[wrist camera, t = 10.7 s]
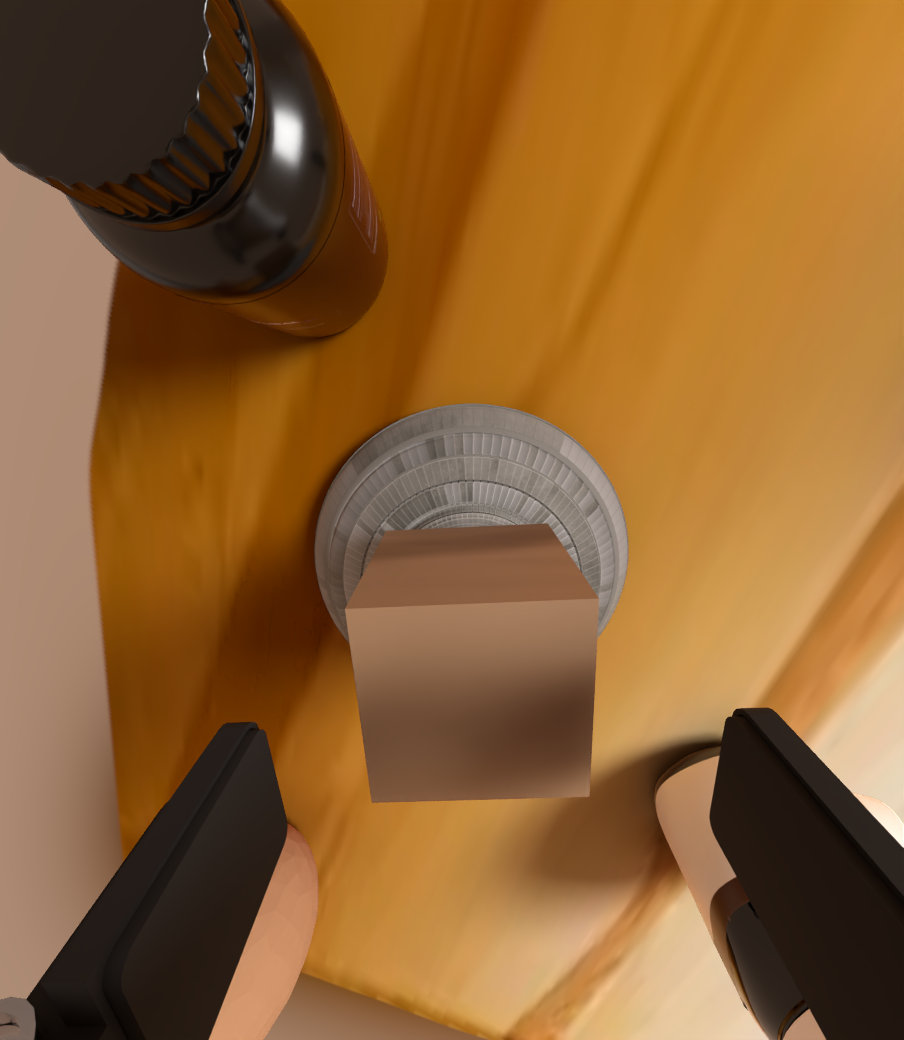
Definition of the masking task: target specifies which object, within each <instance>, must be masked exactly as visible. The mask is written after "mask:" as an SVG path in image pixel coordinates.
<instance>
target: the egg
mask: <svg viewBox="0 0 904 1040" xmlns="http://www.w3.org/2000/svg"><path fill="white" fill-rule="evenodd" d="M287 824H288V823H287ZM317 908H318V875H317V868H316V865H315V861H314V858H313V855H312V851H311V849H310V847H309V845H308V844H307V842H306V840H305V839H304V837H303V836H302V834H301V833H300V832H298V831H297V830H296V829H295V828H294V827H292V826H291V825H290V824H288V830H287V837H286V841H285V844H284V847H283V849H282V852H281V855H280V857H279V860H278V862H277V865H276V868H275V870H274V873H273V875H272V878H271V880H270V883H269V886H268V888H267V891H266V893H265V896H264V899H263V901H262V904H261V906H260V909H259V911H258V914H257V917H256V919H255V922H254V924H253V927H252V930H251V932H250V935H249V937H248V940H247V942H246V945H245V948H244V950H243V953H242V955H241V958H240V961H239V963H238V966H237V968H236V971H235V973H234V976H233V979H232V981H231V984H230V986H229V989H228V992H227V994H226V997H225V999H224V1002H223V1004H222V1007H221V1010H220V1012H219V1015H218V1017H217V1020H216V1023H215V1025H214V1028H213V1030H212V1033H211V1035H210V1038H209V1040H264V1038H265V1037H266V1035H267V1033H268V1032H269V1030H270V1029H271V1027H272V1025H273V1024H274V1022H275V1020H276V1019H277V1017H278V1015H279V1014H280V1012H281V1011H282V1009H283V1008H284V1006H285V1004H286V1003H287V1001H288V999H289V997H290V995H291V993H292V990H293V988H294V986H295V983H296V981H297V979H298V976H299V974H300V971H301V969H302V966H303V964H304V961H305V959H306V955H307V952H308V949H309V946H310V943H311V939H312V935H313V930H314V926H315V922H316V917H317Z"/></svg>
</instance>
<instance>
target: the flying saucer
mask: <svg viewBox="0 0 904 1040" xmlns="http://www.w3.org/2000/svg"><path fill="white" fill-rule="evenodd" d="M544 523H548V524H549V526H550V527H551V529H552V530H553V532H554V533H555V535H556V536H557V537H558V539H559V540H560V542H561V543H562V545H563V546H564V548H565V549H566V551H567V552H568V554H569V555H570V557H571V558H572V559H573V561H574V562H575V564H576V565H577V567H578V568H579V570H580V571H581V573H582V574H583V576H584V577H585V578H586V580H587V581H588V583H589V584H590V586H591V587H592V589H593V590H594V592H595V593H596V595H597V596H598V598H599V612H598V632H597V638H598V637H599V636H600V634H601V633H602V631H603V630H604V628H605V627H606V625H607V623H608V622H609V620H610V618H611V616H612V614H613V612H614V610H615V608H616V606H617V603H618V601H619V598H620V595H621V592H622V590H623V586H624V582H625V578H626V572H627V565H628V534H627V527H626V522H625V517H624V513H623V510H622V507H621V504H620V501H619V498H618V496H617V494H616V491H615V489H614V487H613V485H612V484H611V482H610V480H609V478H608V477H607V475H606V474H605V472H604V471H603V469H602V468H601V466H600V465H599V464H598V463H597V461H596V460H595V459H594V458H593V457H592V456H591V454H590V453H589V452H588V451H587V450H586V449H585V448H584V447H583V446H582V445H581V444H579V443H578V442H577V441H576V440H575V439H573V438H572V437H571V436H570V435H568V434H567V433H565V432H564V431H562V430H561V429H559V428H558V427H556V426H554V425H553V424H551V423H549V422H547V421H545V420H543V419H541V418H538V417H536V416H534V415H531V414H528V413H525V412H522V411H519V410H515V409H512V408H507V407H502V406H496V405H488V404H457V405H449V406H442V407H437V408H433V409H429V410H425V411H422V412H419V413H416V414H413V415H410V416H408V417H406V418H404V419H401V420H399V421H397V422H395V423H393V424H391V425H390V426H388V427H386V428H385V429H383V430H381V431H380V432H379V433H377V434H376V435H374V436H373V437H372V438H370V439H369V440H368V441H367V442H366V443H364V444H363V445H362V446H361V447H360V448H359V449H358V450H357V451H356V452H355V453H354V454H353V455H352V456H351V457H350V458H349V460H348V461H347V462H346V463H345V465H344V466H343V467H342V469H341V470H340V471H339V473H338V474H337V476H336V478H335V479H334V481H333V483H332V484H331V486H330V488H329V490H328V492H327V494H326V497H325V499H324V502H323V505H322V508H321V511H320V514H319V518H318V522H317V528H316V534H315V548H314V554H315V568H316V574H317V580H318V584H319V588H320V591H321V594H322V597H323V600H324V602H325V605H326V607H327V609H328V611H329V613H330V615H331V617H332V619H333V621H334V623H335V624H336V626H337V628H338V629H339V631H340V632H341V634H342V635H343V636H344V638H345V639H346V640H347V641H348V643H349V644H350V642H349V635H348V628H347V620H346V613H345V608H346V606H347V604H348V602H349V600H350V598H351V596H352V595H353V593H354V591H355V589H356V587H357V585H358V583H359V581H360V579H361V577H362V576H363V574H364V572H365V570H366V568H367V566H368V564H369V562H370V560H371V558H372V557H373V555H374V553H375V551H376V549H377V547H378V545H379V543H380V541H381V540H382V538H383V536H384V534H385V532H386V531H393V530H415V529H436V528H458V527H479V526H501V525H522V524H544Z"/></svg>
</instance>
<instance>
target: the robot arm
mask: <svg viewBox="0 0 904 1040" xmlns="http://www.w3.org/2000/svg"><path fill="white" fill-rule="evenodd" d="M709 819H710V825H711V829H712V832H713V834H714V836H715V838H716V840H717V842H718V844H719V846H720V848H721V849H722V851H723V853H724V855H725V857H726V859H727V860H728V862H729V864H730V866H731V868H732V869H733V871H734V873H735V875H736V877H737V879H738V880H739V882H740V884H741V886H742V888H743V889H744V891H745V893H746V895H747V897H748V899H749V900H750V902H751V904H752V906H753V908H754V909H755V911H756V913H757V915H758V917H759V919H760V920H761V922H762V924H763V926H764V928H765V929H766V931H767V933H768V935H769V937H770V939H771V940H772V942H773V944H774V946H775V948H776V949H777V951H778V953H779V955H780V957H781V958H782V960H783V962H784V964H785V966H786V968H787V969H788V971H789V973H790V975H791V977H792V978H793V980H794V982H795V984H796V986H797V988H798V989H799V991H800V993H801V995H802V997H803V998H804V1000H805V1002H806V1004H807V1006H808V1008H809V1009H810V1011H811V1013H812V1015H813V1017H814V1018H815V1020H816V1022H817V1024H818V1026H819V1028H820V1029H821V1031H822V1033H823V1035H824V1037H825V1038H826V1040H904V848H903V847H902V846H901V845H900V843H899V842H898V841H897V840H896V839H895V838H894V837H893V836H892V835H891V834H890V833H889V832H888V831H887V830H886V829H885V828H884V826H883V825H882V824H881V823H880V822H879V821H878V820H877V819H876V818H875V817H874V816H873V815H872V814H871V813H870V812H869V811H868V809H867V808H866V807H865V806H864V805H863V804H862V803H861V802H860V801H859V800H858V799H857V798H856V797H855V796H854V795H853V794H852V793H851V791H850V790H849V789H848V788H847V787H846V786H845V785H844V784H843V783H842V782H841V781H840V780H839V779H838V778H837V777H836V776H835V774H834V773H833V772H832V771H831V770H830V769H829V768H828V767H827V766H826V765H825V764H824V763H823V762H822V761H821V760H820V759H819V758H818V756H817V755H816V754H815V753H814V752H813V751H812V750H811V749H810V748H809V747H808V746H807V745H806V744H805V743H804V742H803V741H802V739H801V738H800V737H799V736H798V735H797V734H796V733H795V732H794V731H793V730H792V729H791V728H790V727H789V726H788V725H787V724H786V722H785V721H784V720H783V719H782V718H781V717H780V716H779V715H778V714H777V713H776V712H775V711H773V710H772V709H770V708H740V709H736V710H735V711H734V712H733V715H732V717H728V718H727V719H726V721H725V726H724V732H723V738H722V743H721V749H720V755H719V761H718V767H717V773H716V778H715V784H714V790H713V796H712V802H711V808H710V813H709ZM287 830H288V824H287V819H286V814H285V810H284V806H283V802H282V798H281V794H280V790H279V786H278V781H277V777H276V773H275V769H274V765H273V761H272V757H271V753H270V748H269V744H268V740H267V736H266V733H265V731H264V730H259V728H258V725H257V724H256V723H255V722H240V723H226V724H224V725H223V726H222V727H221V728H220V729H219V730H218V732H217V733H216V735H215V736H214V737H213V739H212V740H211V742H210V743H209V745H208V746H207V747H206V749H205V750H204V752H203V753H202V754H201V756H200V757H199V759H198V760H197V762H196V763H195V764H194V766H193V767H192V769H191V770H190V772H189V773H188V774H187V776H186V777H185V779H184V780H183V782H182V783H181V784H180V786H179V787H178V789H177V790H176V791H175V793H174V794H173V796H172V797H171V799H170V800H169V801H168V802H167V803H166V804H165V805H164V806H163V808H162V809H161V810H160V811H159V813H158V814H157V815H156V817H155V818H154V820H153V821H152V822H151V824H150V825H149V827H148V828H147V829H146V831H145V832H144V834H143V835H142V837H141V838H140V839H139V841H138V842H137V844H136V845H135V846H134V848H133V849H132V851H131V852H130V854H129V855H128V856H127V858H126V859H125V861H124V862H123V863H122V865H121V866H120V868H119V869H118V871H117V872H116V873H115V875H114V876H113V878H112V879H111V880H110V882H109V883H108V885H107V886H106V887H105V889H104V890H103V892H102V893H101V894H100V896H99V898H98V899H97V900H96V902H95V903H94V904H93V906H92V907H91V909H90V910H89V911H88V913H87V914H86V916H85V917H84V919H83V920H82V921H81V923H80V924H79V926H78V927H77V928H76V930H75V931H74V933H73V934H72V935H71V937H70V938H69V940H68V941H67V943H66V944H65V945H64V947H63V948H62V950H61V951H60V952H59V954H58V955H57V957H56V958H55V959H54V961H53V962H52V964H51V965H50V967H49V968H48V969H47V971H46V972H45V974H44V975H43V976H42V978H41V979H40V981H39V982H38V984H37V985H36V987H35V988H34V990H33V991H32V992H31V993H30V995H29V996H28V998H27V999H23V998H15V997H9V998H5V999H1V1000H0V1040H209V1038H210V1035H211V1033H212V1030H213V1028H214V1025H215V1023H216V1020H217V1017H218V1015H219V1012H220V1010H221V1007H222V1004H223V1002H224V999H225V997H226V994H227V992H228V989H229V986H230V984H231V981H232V979H233V976H234V973H235V971H236V968H237V966H238V963H239V961H240V958H241V955H242V953H243V950H244V948H245V945H246V942H247V940H248V937H249V935H250V932H251V930H252V927H253V924H254V922H255V919H256V917H257V914H258V911H259V909H260V906H261V904H262V901H263V899H264V896H265V893H266V891H267V888H268V886H269V883H270V880H271V878H272V875H273V873H274V870H275V868H276V865H277V862H278V860H279V857H280V855H281V852H282V849H283V847H284V844H285V841H286V837H287Z"/></svg>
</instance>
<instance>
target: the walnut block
mask: <svg viewBox="0 0 904 1040" xmlns="http://www.w3.org/2000/svg"><path fill="white" fill-rule="evenodd" d="M598 612H599V598H598V596H597V595H596V593H595V592H594V590H593V589H592V587H591V586H590V584H589V583H588V581H587V580H586V578H585V577H584V576H583V574H582V573H581V571H580V570H579V568H578V567H577V565H576V564H575V562H574V561H573V559H572V558H571V557H570V555H569V554H568V552H567V551H566V549H565V548H564V546H563V545H562V543H561V542H560V540H559V539H558V537H557V536H556V535H555V533H554V532H553V530H552V529H551V527H550V526H549V524H548V523H544V524H522V525H501V526H479V527H458V528H436V529H415V530H393V531H386V532H385V534H384V536H383V538H382V540H381V541H380V543H379V545H378V547H377V549H376V551H375V553H374V555H373V557H372V558H371V560H370V562H369V564H368V566H367V568H366V570H365V572H364V574H363V576H362V577H361V579H360V581H359V583H358V585H357V587H356V589H355V591H354V593H353V595H352V596H351V598H350V600H349V602H348V604H347V606H346V608H345V613H346V620H347V628H348V635H349V642H350V649H351V656H352V664H353V671H354V678H355V685H356V692H357V699H358V707H359V714H360V721H361V728H362V735H363V743H364V750H365V757H366V764H367V771H368V779H369V786H370V793H371V800H372V803H379V802H415V801H452V800H488V799H525V798H562V797H589V794H590V774H591V754H592V733H593V713H594V693H595V673H596V652H597V632H598Z"/></svg>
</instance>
